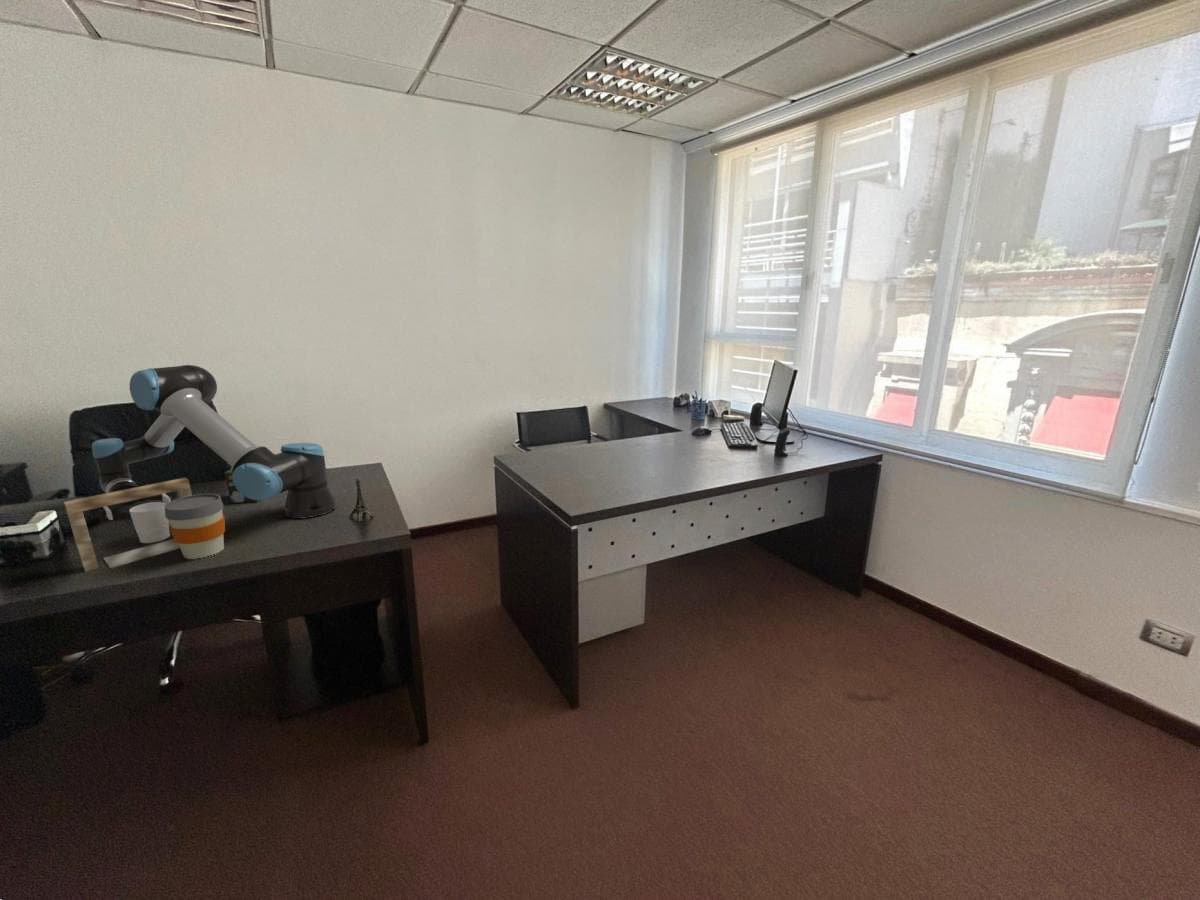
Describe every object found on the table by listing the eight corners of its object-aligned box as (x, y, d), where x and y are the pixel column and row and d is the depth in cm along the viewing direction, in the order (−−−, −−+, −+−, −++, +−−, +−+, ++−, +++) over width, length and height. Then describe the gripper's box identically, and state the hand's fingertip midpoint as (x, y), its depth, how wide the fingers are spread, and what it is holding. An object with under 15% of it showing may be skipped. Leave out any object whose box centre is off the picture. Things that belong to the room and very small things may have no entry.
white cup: (178, 535, 149) (171, 504, 146) (146, 546, 142) (138, 514, 139) (163, 530, 152) (156, 500, 150) (131, 541, 145) (123, 509, 143)
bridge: (195, 533, 151) (182, 475, 145) (204, 541, 146) (191, 481, 141) (81, 565, 132) (62, 499, 127) (87, 574, 127) (67, 507, 122)
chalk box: (271, 493, 183) (264, 454, 179) (258, 502, 175) (250, 462, 170) (244, 494, 182) (236, 455, 178) (229, 503, 174) (221, 462, 169)
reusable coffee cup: (168, 566, 132) (155, 513, 128) (184, 545, 143) (172, 496, 139) (225, 557, 137) (214, 506, 133) (236, 538, 148) (227, 491, 144)
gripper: (174, 492, 174) (194, 508, 162) (73, 514, 155) (86, 533, 143) (170, 471, 172) (189, 486, 160) (66, 491, 153) (79, 509, 140)
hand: (141, 508), depth 151 cm, fingers open, 13 cm apart
